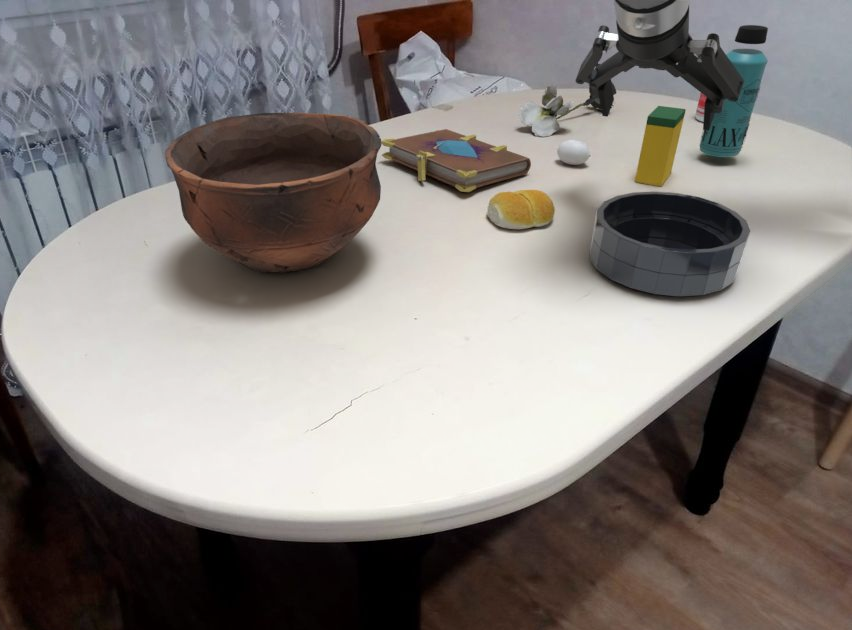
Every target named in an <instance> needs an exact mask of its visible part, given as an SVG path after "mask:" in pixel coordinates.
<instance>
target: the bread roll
mask: <svg viewBox="0 0 852 630" xmlns="http://www.w3.org/2000/svg"><path fill="white" fill-rule="evenodd" d="M554 205H555V204H554V202H553V200H552V199H551V197H550V196H549V195H548V194H547V193H545V192H543V191H542V190H540V189H539V190H538V189H521V190H516V191H501V192H498V193H496V194H495V195H493V197H491V198H490V200H489V202H488V205H487V209H486V215H487V217H488V218H489V220H490V221H491V222H492V224H494V225H496V226H498V227H499V228H503V229H509V230H525V229H530V228H533V227H534V228H540V227H544V226H546V225H548V224H550V223H551V222H552V220H553V219H554V216H555V212H556V211H555V210H556V209H555V206H554Z"/></svg>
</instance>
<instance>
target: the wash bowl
mask: <svg viewBox="0 0 852 630" xmlns="http://www.w3.org/2000/svg"><path fill="white" fill-rule="evenodd" d="M592 229H593V231H592V236H591V242H590V247H589V261H590V262H591V263H592V265H593V266H594V268H595V269H596V270H597V271H598V272H600V273H601V274H602V275H604V276H605V277H607V278H608V279H609V280H611V281H612V282H615V283H618V284H620V285H622V286H624V287H627V288H629V289H633V290H637V291H641V292H645V293H648V294H652V295H659V296H668V297H669V296H670V297H694V296H696V297H697V296H704V295H709V294H711V293H716V292H720V291H722V290H724V289H725V288H727V287H728V286H730V285H732V284H733V283H734V281H735V279H736V276H737V274H738V272H739V268H740V265H741V262H742V259H743V257H744V252H745V249H746V247H747V243H748V240H749V237H750V234H751V228H750V226H749V223H748V221H747V219H745V218H744V217H743V216H741V215H740V214H739V213H738V212H737V211H735V210H733V209H731V208H730V207H727V206H725V205H723V204H721V203H719V202H716V201H713V200H709V199H706V198H703V197H700V196H696V195H688V194H684V193H679V192H668V191H666V192H665V191H637V192H629V193H625V194H619V195H615V196H613V197H611V198H608V199H607V200H605V201H603V202H602V203H601V204H600V205H599V207H598V208H597V209H596V211H595V218H594V224H593V228H592Z"/></svg>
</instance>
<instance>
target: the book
mask: <svg viewBox="0 0 852 630" xmlns="http://www.w3.org/2000/svg"><path fill="white" fill-rule="evenodd" d="M381 146H384V147H387V148H389V150H388V151H385V152H384V153H382V154H381V157H383V158H384V159H385V160H391V161H394V162H396V163H399V164H401V165H403V166H406V167H408V168H410V169H413V170H415V171H417V181H418V182H422V181H426V176H429V177H431V178H434V179H436V180H438V181H440V182H442V183H445V184H448V185H450V186H452V187H454V188H455V189H456V190H457V191H459V192H464V193H470V192H472V191H473V190H474V191H475V190H476V189H477V188H481V187H484V186H487V185H492V184H494V183H498V182H501V181H505V180H509V179H513V178H516V177H520V176H524V175H528V173H529V171H530V170H531V166H532V161H531V158H529V157H527V156H524V155H521V154H520V153H519V154H518V153H516V152H512V151H510V150H508V146H507V145H505V144H502V145H498V146H496V145H493V144H490V143H487V142H484V141H482V140H479V139H477V135H476V134H470V135H465V134H461V133H459V132H456V131H452V130H450V129H448V128H445V129H440V130H435V131H430V132H423V133H419V134H415V135H409V136H404V137H400V138H399V137H398V138H384V139H383V140H381Z"/></svg>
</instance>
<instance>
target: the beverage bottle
mask: <svg viewBox="0 0 852 630" xmlns="http://www.w3.org/2000/svg"><path fill="white" fill-rule="evenodd" d="M768 31H769V28H768V27H767V26H764V25H757V24H756V25H755V24H746V25H740V26H739V27H738V30H737V32H736V35H735V39H734V42H736V43H738V44H739V43H740V44H744V45H763V44H765V43H766V41H767V35H768ZM725 54H726V55H727V57H728V58H729V60H730V61H731V63H732V64H733V65H734V67H735V68H736V70H737V71H738V72H739V74H740V75H741V77H742V78H743V79H744V84H743V87H742V90H741V93H740V96H739V98H738V101H735V102H732V101H729V100H728V99H725V103H724V106H723V109H722V112H721V113H715V115H714V118H713V121H712V123H711V126H710V129H709V130H702V132H701V136H700V142H699V151H700V152H701V153H703V154H704V155H707V156H711V157H712V156H713V157H717V158H719V157H720V158H732V157H736V156H739V154H740V153H741V151H742V149H743V147H744V143H745V142H746V140H745V139H746V137H747V135H748V131H749V127H750V122H751V119H752V113H753V112H754V111H753V110H754V107H755V105H756V103H757V102H758V100H757V99H758V97H759V93H760V91H761V84H762V79H763V76H764V73H765V70H766V66H767V63H768V57H767V56H766V54H765V53H764V52H763V51H762V50H759V49H754V48H733V49H732V50H730V51H728V52H727V53H725Z"/></svg>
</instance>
